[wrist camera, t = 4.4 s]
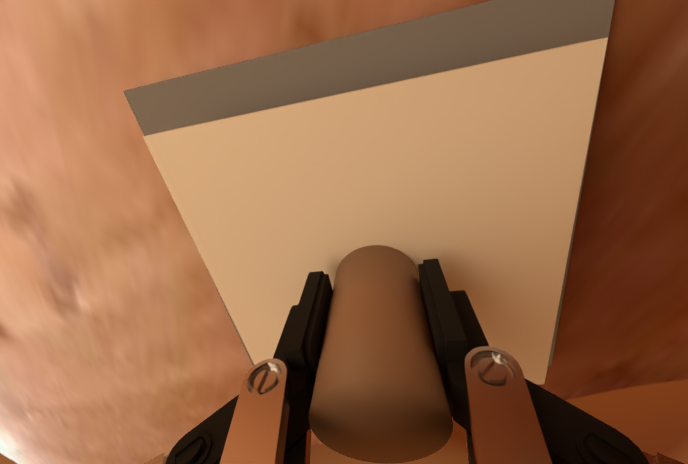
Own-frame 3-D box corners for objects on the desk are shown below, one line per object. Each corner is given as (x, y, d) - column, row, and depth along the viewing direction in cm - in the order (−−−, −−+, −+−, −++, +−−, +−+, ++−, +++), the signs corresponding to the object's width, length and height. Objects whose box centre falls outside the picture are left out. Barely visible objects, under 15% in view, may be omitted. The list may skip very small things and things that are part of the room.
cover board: (163, 131, 12) (-91, 193, 5) (580, 42, 9) (1065, -45, 3) (274, 375, 18) (222, 534, 12) (532, 363, 16) (640, 556, 9)
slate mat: (132, 90, 14) (123, 91, 13) (607, -25, 10) (620, -32, 10) (263, 374, 22) (260, 381, 22) (546, 358, 19) (551, 366, 18)
